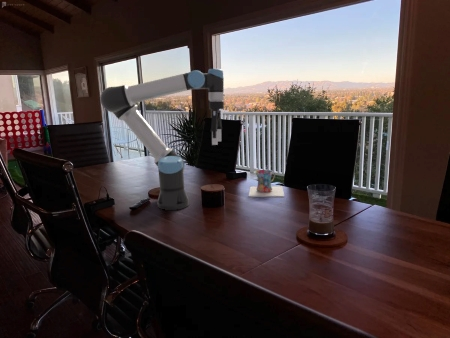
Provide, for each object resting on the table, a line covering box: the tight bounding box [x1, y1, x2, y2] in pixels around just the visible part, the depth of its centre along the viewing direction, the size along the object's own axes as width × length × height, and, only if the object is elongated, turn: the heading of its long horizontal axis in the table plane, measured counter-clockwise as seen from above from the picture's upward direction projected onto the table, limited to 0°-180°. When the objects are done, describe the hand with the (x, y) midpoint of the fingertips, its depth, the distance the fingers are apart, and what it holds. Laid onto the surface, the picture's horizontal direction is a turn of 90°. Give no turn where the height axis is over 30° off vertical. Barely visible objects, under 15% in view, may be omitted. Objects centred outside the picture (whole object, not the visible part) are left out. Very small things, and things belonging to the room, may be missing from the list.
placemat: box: [248, 185, 285, 198], centre depth 173 cm, size 18×18×1 cm
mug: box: [255, 169, 276, 192], centre depth 173 cm, size 12×9×11 cm
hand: (216, 143), depth 166 cm, fingers open, 13 cm apart
